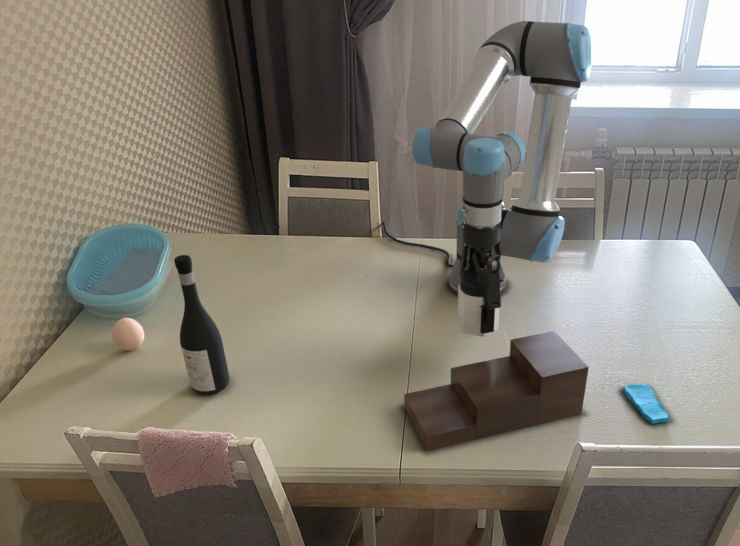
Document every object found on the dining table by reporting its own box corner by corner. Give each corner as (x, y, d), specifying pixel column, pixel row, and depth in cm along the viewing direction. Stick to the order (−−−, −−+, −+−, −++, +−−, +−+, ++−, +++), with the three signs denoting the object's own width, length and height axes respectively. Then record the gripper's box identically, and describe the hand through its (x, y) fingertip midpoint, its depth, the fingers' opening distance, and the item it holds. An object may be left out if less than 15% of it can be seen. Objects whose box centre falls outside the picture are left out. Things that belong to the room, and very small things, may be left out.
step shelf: (404, 407, 139) (402, 361, 132) (549, 375, 148) (554, 330, 142) (426, 451, 128) (426, 402, 121) (581, 413, 137) (588, 367, 130)
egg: (110, 353, 155) (101, 323, 151) (130, 338, 160) (122, 309, 156) (134, 358, 153) (125, 329, 149) (153, 343, 159) (145, 314, 154)
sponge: (642, 421, 133) (671, 416, 133) (621, 385, 143) (648, 381, 143) (641, 427, 134) (670, 422, 134) (621, 391, 144) (648, 386, 144)
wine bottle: (209, 401, 140) (179, 270, 124) (183, 389, 144) (150, 260, 127) (238, 381, 146) (213, 254, 129) (212, 370, 149) (184, 245, 133)
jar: (452, 332, 144) (453, 282, 137) (462, 313, 150) (463, 264, 143) (493, 339, 141) (496, 289, 135) (502, 319, 148) (505, 270, 141)
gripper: (444, 204, 140) (444, 299, 152) (485, 247, 123) (481, 350, 136) (477, 199, 142) (475, 293, 155) (523, 241, 125) (515, 343, 138)
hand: (478, 320), depth 145 cm, fingers closed on jar, 9 cm apart
